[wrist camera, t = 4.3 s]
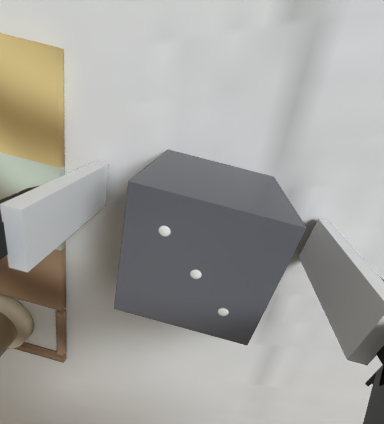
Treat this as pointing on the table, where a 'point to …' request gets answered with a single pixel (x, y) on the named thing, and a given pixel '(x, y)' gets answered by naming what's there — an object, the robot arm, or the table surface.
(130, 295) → the die
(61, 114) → the board
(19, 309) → the pawn
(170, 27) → the table surface
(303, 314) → the table surface
